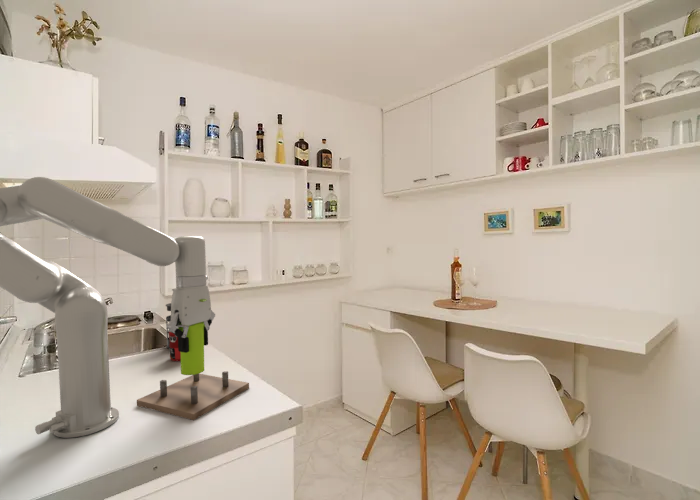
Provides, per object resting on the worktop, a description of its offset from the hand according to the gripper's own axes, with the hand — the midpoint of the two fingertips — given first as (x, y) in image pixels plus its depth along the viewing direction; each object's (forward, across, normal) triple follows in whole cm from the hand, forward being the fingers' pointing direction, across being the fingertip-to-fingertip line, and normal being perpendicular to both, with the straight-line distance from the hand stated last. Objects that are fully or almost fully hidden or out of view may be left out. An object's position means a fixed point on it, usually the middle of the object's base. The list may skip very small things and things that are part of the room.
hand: (193, 347), depth 101 cm
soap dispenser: (+7, 0, 0) cm, 7 cm away
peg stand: (+13, 0, 0) cm, 13 cm away
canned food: (+14, -22, -30) cm, 40 cm away
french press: (+14, -33, -44) cm, 57 cm away
